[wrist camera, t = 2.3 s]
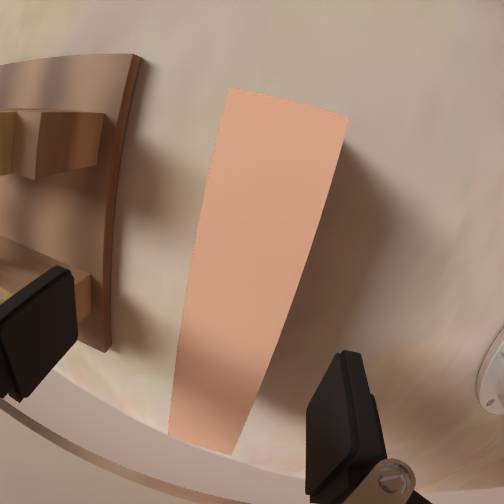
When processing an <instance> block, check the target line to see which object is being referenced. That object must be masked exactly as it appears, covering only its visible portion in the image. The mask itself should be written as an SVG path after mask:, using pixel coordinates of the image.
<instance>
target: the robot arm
mask: <svg viewBox="0 0 504 504" xmlns="http://www.w3.org/2000/svg"><path fill="white" fill-rule="evenodd" d="M77 339H78V324H77V313H76V300H75V284H74V277H73V275H72V273H71V271H70V270H69V269H66V268H64V267H61V266H59V265H56V266H54V267H52V268H51V269H49V270H48V271H46V272H45V273H43V274H42V275H41V276H39V277H38V278H36V279H35V280H33V281H32V282H31V283H29V284H28V285H26V286H25V287H24V288H22V289H21V290H19V291H18V292H17V293H15V294H14V295H13V296H11V297H10V298H9V299H7V300H6V301H5V302H3V303H2V304H1V305H0V504H250V503H245V502H239V501H235V500H229V499H225V498H221V497H217V496H212V495H208V494H204V493H201V492H197V491H193V490H190V489H186V488H182V487H180V486H176V485H173V484H170V483H167V482H164V481H161V480H158V479H155V478H152V477H149V476H147V475H144V474H141V473H139V472H136V471H134V470H131V469H128V468H126V467H123V466H121V465H119V464H117V463H114V462H112V461H110V460H107V459H105V458H103V457H101V456H99V455H97V454H94V453H92V452H90V451H88V450H86V449H84V448H82V447H80V446H78V445H76V444H74V443H73V442H71V441H68V440H67V439H65V438H63V437H61V436H60V435H58V434H56V433H54V432H53V431H51V430H49V429H48V428H46V427H44V426H42V425H41V424H39V423H38V422H36V421H34V420H33V419H31V418H30V417H28V416H27V415H25V414H24V413H22V412H21V411H19V410H17V409H16V408H15V407H13V406H12V405H10V404H9V403H7V402H6V401H5V396H6V395H7V394H9V396H10V397H12V398H13V399H15V400H16V401H18V402H19V403H20V402H21V401H22V399H23V398H24V397H25V398H26V397H28V396H30V394H31V393H32V392H33V391H34V389H35V388H36V387H37V386H38V385H39V384H40V382H41V381H42V380H43V379H44V378H45V377H46V375H47V374H48V373H49V372H50V371H51V369H52V368H53V367H54V366H55V365H56V364H57V363H58V361H59V360H60V359H61V358H62V357H63V356H64V355H65V354H66V352H67V351H68V350H69V349H70V348H71V347H72V346H73V345H74V343H75V342H76V341H77ZM476 394H477V397H478V400H479V402H480V404H481V406H482V408H483V409H484V410H485V411H486V412H488V413H491V414H494V415H503V414H504V328H503V329H502V330H501V332H500V333H499V334H498V336H497V338H496V339H495V341H494V342H493V344H492V345H491V347H490V349H489V351H488V353H487V355H486V357H485V358H484V360H483V363H482V365H481V368H480V371H479V373H478V378H477V382H476ZM415 484H416V478H415V475H414V472H413V471H412V469H411V468H410V467H409V466H408V465H407V464H406V463H404V462H402V461H401V460H398V459H393V458H391V459H387V453H386V448H385V443H384V438H383V433H382V429H381V424H380V419H379V415H378V410H377V406H376V401H375V398H374V396H373V395H372V394H370V390H369V386H368V382H367V378H366V373H365V369H364V365H363V361H362V357H361V354H360V353H356V352H351V351H346V350H343V351H342V352H341V354H339V353H337V354H336V355H335V356H334V358H333V360H332V362H331V364H330V366H329V368H328V370H327V372H326V374H325V375H324V377H323V379H322V381H321V383H320V385H319V387H318V388H317V390H316V392H315V394H314V396H313V397H312V399H311V401H310V403H309V405H308V407H307V411H306V481H305V492H306V495H310V503H316V504H432V503H431V502H429V501H428V500H426V499H425V498H424V497H423V496H421V495H420V494H419V493H417V492H416V491H415V490H414V488H415Z"/></svg>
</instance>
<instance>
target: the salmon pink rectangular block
mask: <svg viewBox="0 0 504 504" xmlns="http://www.w3.org/2000/svg"><path fill="white" fill-rule="evenodd" d="M348 122H349V118H348V117H345V116H342V115H339V114H335V113H332V112H329V111H326V110H322V109H319V108H315V107H312V106H308V105H305V104H301V103H297V102H293V101H289V100H285V99H281V98H277V97H273V96H269V95H264V94H260V93H255V92H250V91H245V90H240V89H235V88H230V87H229V90H228V93H227V97H226V101H225V105H224V109H223V113H222V117H221V121H220V126H219V130H218V134H217V138H216V142H215V147H214V151H213V156H212V160H211V164H210V169H209V174H208V178H207V183H206V188H205V192H204V197H203V202H202V207H201V212H200V217H199V222H198V227H197V233H196V238H195V243H194V249H193V254H192V260H191V266H190V271H189V277H188V283H187V289H186V296H185V302H184V308H183V315H182V321H181V328H180V335H179V342H178V350H177V357H176V365H175V373H174V381H173V390H172V398H171V408H170V417H169V428H168V435H169V436H171V437H174V438H177V439H180V440H183V441H185V442H188V443H191V444H194V445H197V446H201V447H204V448H207V449H210V450H214V451H217V452H221V453H224V454H228V455H232V452H233V450H234V448H235V446H236V443H237V441H238V439H239V436H240V434H241V432H242V429H243V427H244V425H245V422H246V420H247V418H248V415H249V413H250V410H251V408H252V405H253V403H254V401H255V398H256V396H257V393H258V391H259V388H260V386H261V383H262V381H263V378H264V376H265V373H266V371H267V368H268V365H269V363H270V360H271V358H272V355H273V352H274V350H275V347H276V345H277V342H278V339H279V337H280V334H281V331H282V329H283V326H284V323H285V320H286V318H287V315H288V312H289V309H290V307H291V304H292V301H293V298H294V295H295V293H296V290H297V287H298V284H299V281H300V278H301V275H302V272H303V269H304V266H305V263H306V261H307V258H308V255H309V252H310V249H311V246H312V242H313V239H314V236H315V233H316V230H317V227H318V224H319V221H320V218H321V214H322V211H323V208H324V205H325V202H326V198H327V195H328V192H329V188H330V185H331V182H332V178H333V175H334V172H335V168H336V165H337V161H338V158H339V154H340V151H341V147H342V144H343V140H344V137H345V133H346V129H347V126H348Z"/></svg>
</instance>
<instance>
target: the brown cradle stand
mask: <svg viewBox="0 0 504 504" xmlns="http://www.w3.org/2000/svg"><path fill="white" fill-rule="evenodd" d="M141 58H142V57H139V56H137V55H134V54H91V55H74V56H62V57H52V58H43V59H36V60H29V61H22V62H16V63H11V64H5V65H0V305H1V304H2V303H3V302H5V301H6V300H7V299H9V298H10V297H11V296H13V295H14V294H15V293H17V292H18V291H19V290H21V289H22V288H24V287H25V286H26V285H28V284H29V283H31V282H32V281H33V280H35V279H36V278H38V277H39V276H41V275H42V274H43V273H45V272H46V271H48V270H49V269H51V268H52V267H54V266H56V265H59V266H61V267H64V268H66V269H69V270H70V271H71V273H72V275H73V277H74V284H75V300H76V313H77V324H78V339H77V340H79V341H81V342H83V343H85V344H87V345H89V346H91V347H93V348H95V349H97V350H100V351H102V352H104V353H105V352H106V351H107V350H108V349H109V348H110V347H111V324H110V277H111V251H112V234H113V221H114V209H115V199H116V190H117V182H118V174H119V166H120V159H121V153H122V147H123V140H124V135H125V129H126V124H127V118H128V113H129V108H130V104H131V99H132V94H133V90H134V86H135V81H136V77H137V73H138V69H139V65H140V61H141Z"/></svg>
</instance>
